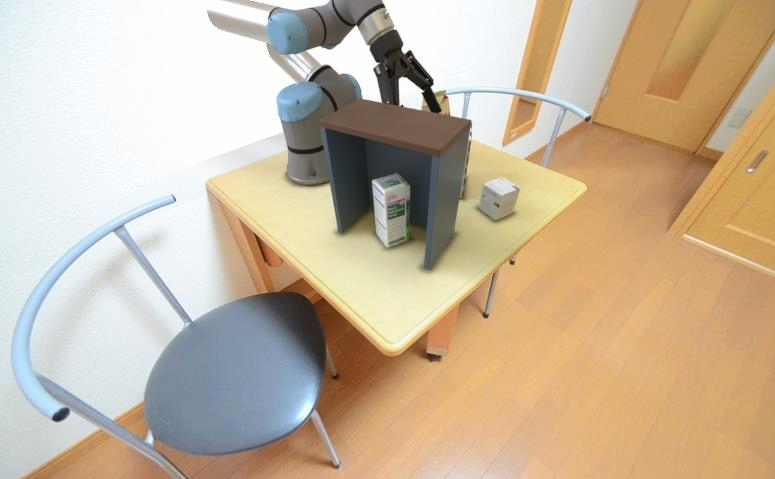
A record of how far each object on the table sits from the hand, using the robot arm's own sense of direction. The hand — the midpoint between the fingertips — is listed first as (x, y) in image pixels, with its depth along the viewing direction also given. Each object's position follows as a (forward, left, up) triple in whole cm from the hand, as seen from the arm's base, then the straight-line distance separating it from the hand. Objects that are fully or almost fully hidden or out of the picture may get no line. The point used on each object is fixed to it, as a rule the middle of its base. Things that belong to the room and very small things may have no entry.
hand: (425, 122), depth 79 cm
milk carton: (-3, +13, -16) cm, 21 cm away
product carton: (+23, -5, -16) cm, 28 cm away
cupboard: (+6, -25, -16) cm, 30 cm away
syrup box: (+6, -26, -16) cm, 31 cm away
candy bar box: (+10, 0, -16) cm, 19 cm away
